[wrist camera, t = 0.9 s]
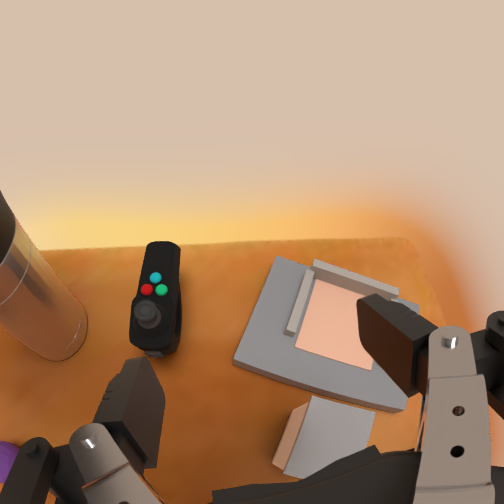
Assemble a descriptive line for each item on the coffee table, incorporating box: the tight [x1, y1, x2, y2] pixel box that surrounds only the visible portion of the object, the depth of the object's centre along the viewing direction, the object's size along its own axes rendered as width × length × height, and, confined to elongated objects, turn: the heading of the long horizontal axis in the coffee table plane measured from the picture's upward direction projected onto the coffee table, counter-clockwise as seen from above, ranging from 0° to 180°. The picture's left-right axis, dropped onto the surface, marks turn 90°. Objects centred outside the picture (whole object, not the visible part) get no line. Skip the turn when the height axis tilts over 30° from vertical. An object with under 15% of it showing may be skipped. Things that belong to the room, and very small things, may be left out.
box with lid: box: [271, 396, 376, 479], centre depth 22 cm, size 5×6×11 cm
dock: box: [233, 256, 419, 413], centre depth 31 cm, size 20×14×5 cm
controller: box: [129, 241, 182, 358], centre depth 30 cm, size 4×12×10 cm, turn 3°
